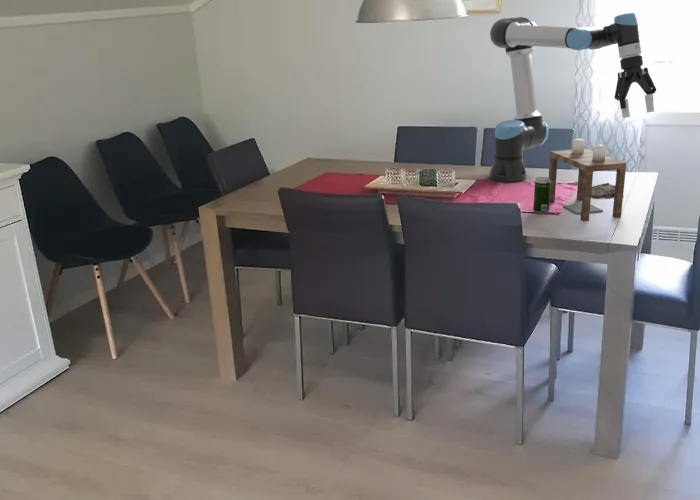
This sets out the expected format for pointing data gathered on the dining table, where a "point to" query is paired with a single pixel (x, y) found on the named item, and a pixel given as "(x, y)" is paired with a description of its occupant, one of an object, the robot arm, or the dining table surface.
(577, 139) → the white short cylinder
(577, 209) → the felt pad
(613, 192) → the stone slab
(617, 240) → the dining table surface
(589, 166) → the walnut stand
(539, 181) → the beer can
